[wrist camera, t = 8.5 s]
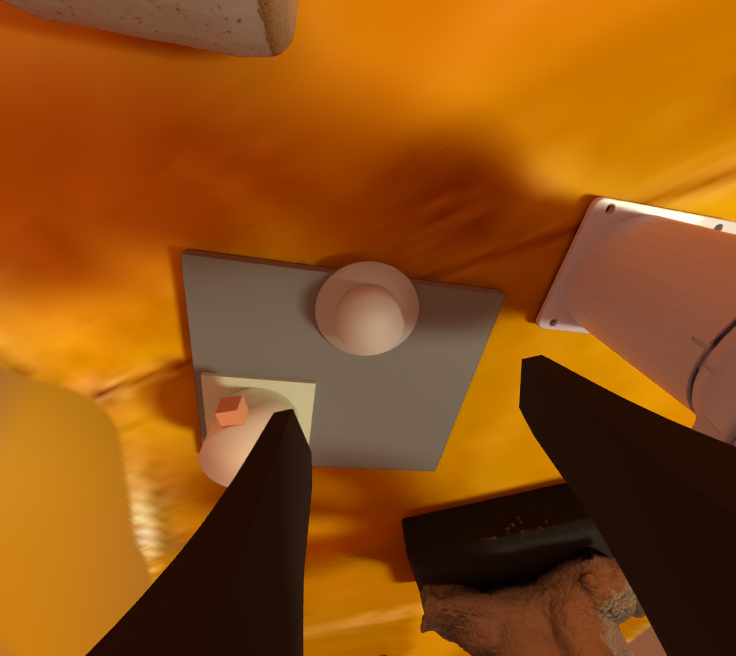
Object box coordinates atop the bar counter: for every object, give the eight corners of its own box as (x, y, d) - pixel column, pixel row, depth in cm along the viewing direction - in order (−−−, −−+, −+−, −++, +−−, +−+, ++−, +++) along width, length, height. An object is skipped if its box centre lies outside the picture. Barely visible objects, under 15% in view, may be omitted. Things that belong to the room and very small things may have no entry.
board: (505, 274, 20) (529, 293, 17) (432, 463, 28) (441, 493, 25) (184, 230, 17) (159, 245, 15) (207, 453, 25) (194, 487, 23)
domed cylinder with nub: (305, 438, 24) (300, 483, 20) (233, 448, 24) (217, 496, 20) (282, 368, 20) (272, 409, 17) (199, 381, 20) (174, 424, 17)
